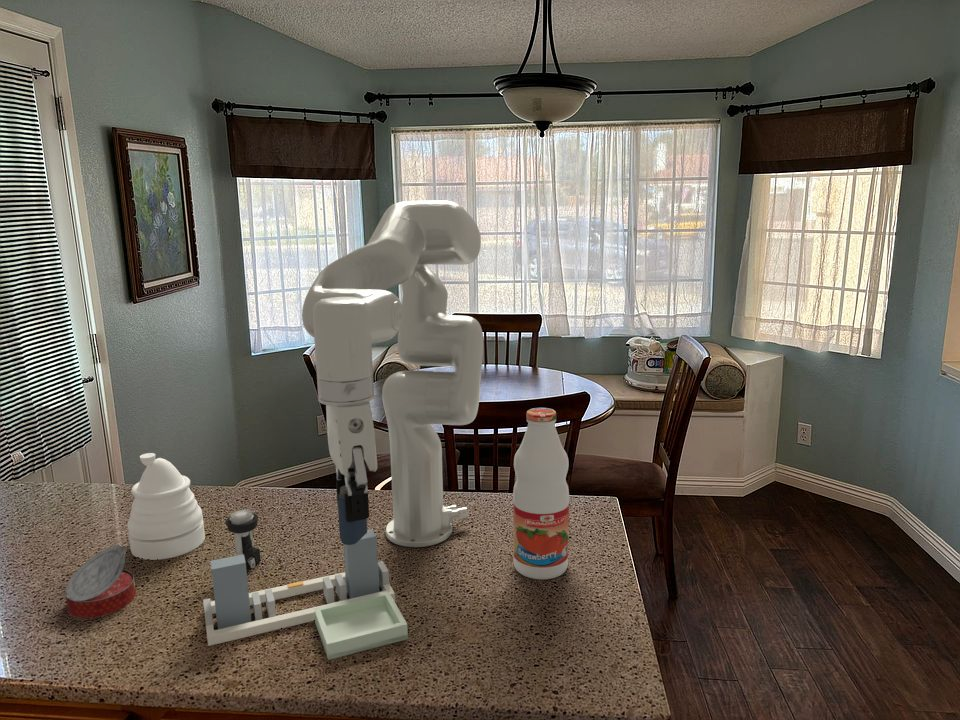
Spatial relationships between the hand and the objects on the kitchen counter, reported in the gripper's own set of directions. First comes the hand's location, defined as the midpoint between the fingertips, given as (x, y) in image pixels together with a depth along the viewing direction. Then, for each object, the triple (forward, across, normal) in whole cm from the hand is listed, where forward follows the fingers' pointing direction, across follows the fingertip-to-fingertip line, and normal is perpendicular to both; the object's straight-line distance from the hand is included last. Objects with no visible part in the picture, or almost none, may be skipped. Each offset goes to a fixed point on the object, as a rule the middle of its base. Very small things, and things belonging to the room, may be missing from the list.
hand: (353, 511), depth 103 cm
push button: (+19, +27, +14) cm, 36 cm away
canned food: (+20, +26, +36) cm, 48 cm away
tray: (+19, 0, 0) cm, 19 cm away
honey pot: (+20, +43, +26) cm, 54 cm away
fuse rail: (+19, +11, +7) cm, 23 cm away
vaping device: (+4, 0, 0) cm, 4 cm away
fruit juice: (+19, +6, -33) cm, 39 cm away
